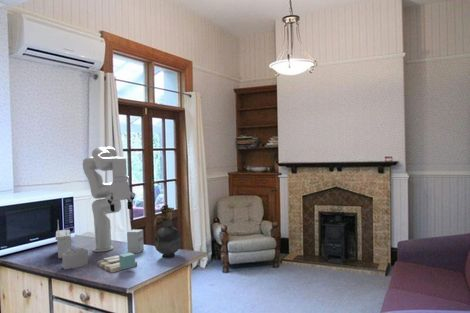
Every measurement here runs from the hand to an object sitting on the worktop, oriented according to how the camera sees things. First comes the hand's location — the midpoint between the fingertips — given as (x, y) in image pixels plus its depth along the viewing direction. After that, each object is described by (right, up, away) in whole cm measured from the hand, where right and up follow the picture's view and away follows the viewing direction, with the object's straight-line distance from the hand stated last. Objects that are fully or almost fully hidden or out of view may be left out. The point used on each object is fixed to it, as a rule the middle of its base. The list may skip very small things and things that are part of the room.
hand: (121, 210), depth 204 cm
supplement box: (+3, -28, +20) cm, 34 cm away
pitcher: (+25, -28, +4) cm, 37 cm away
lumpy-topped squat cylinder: (-24, -30, -4) cm, 38 cm away
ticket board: (0, -29, -8) cm, 29 cm away
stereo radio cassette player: (-40, -30, +19) cm, 53 cm away
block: (+8, -26, -17) cm, 32 cm away
